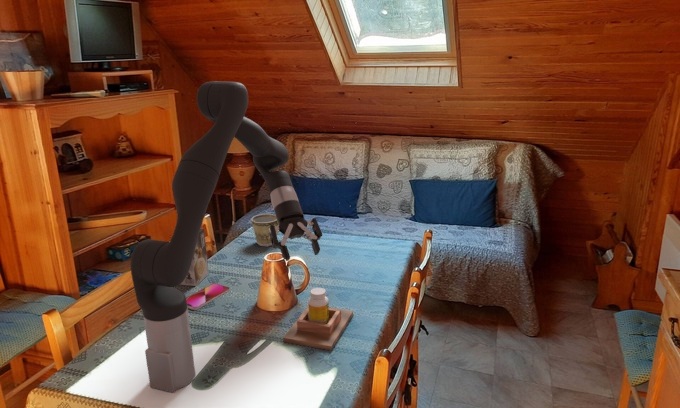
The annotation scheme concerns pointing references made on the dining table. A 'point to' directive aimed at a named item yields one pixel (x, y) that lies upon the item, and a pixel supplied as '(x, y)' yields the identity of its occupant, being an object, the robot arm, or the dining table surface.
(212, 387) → the dining table surface
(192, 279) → the coffee box
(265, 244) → the ceramic cup
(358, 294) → the dining table surface
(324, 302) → the supplement bottle
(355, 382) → the dining table surface
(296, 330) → the socket board
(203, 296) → the smartphone
